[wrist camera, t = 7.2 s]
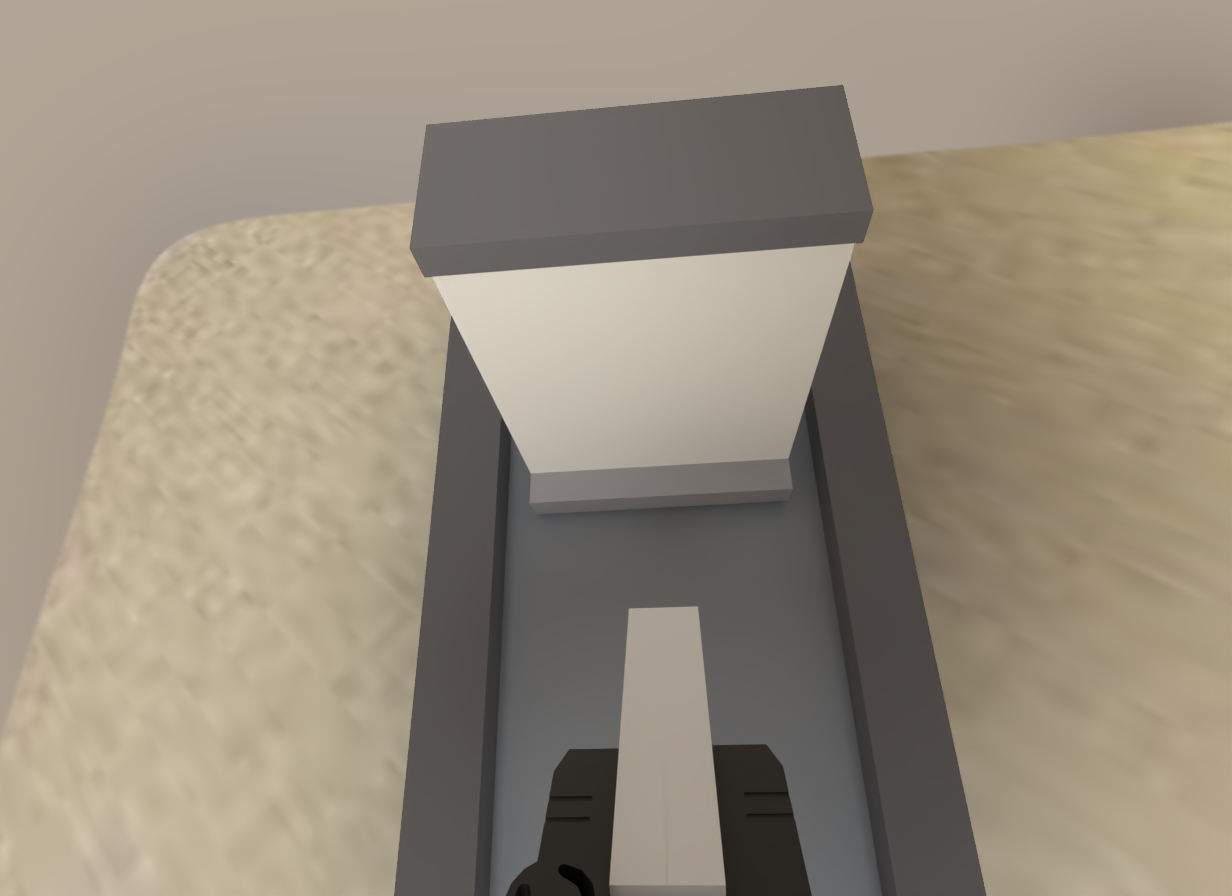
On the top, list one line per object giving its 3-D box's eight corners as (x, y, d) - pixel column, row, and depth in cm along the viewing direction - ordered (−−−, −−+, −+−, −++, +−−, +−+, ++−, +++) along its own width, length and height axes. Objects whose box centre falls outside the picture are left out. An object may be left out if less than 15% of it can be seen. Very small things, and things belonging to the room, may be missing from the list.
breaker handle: (791, 500, 22) (883, 250, 12) (532, 514, 22) (404, 288, 12) (772, 365, 24) (835, 54, 14) (537, 381, 25) (430, 94, 14)
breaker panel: (984, 1126, 17) (1052, 1204, 14) (421, 1120, 18) (365, 1191, 15) (822, 276, 28) (839, 212, 25) (482, 302, 29) (458, 244, 26)
